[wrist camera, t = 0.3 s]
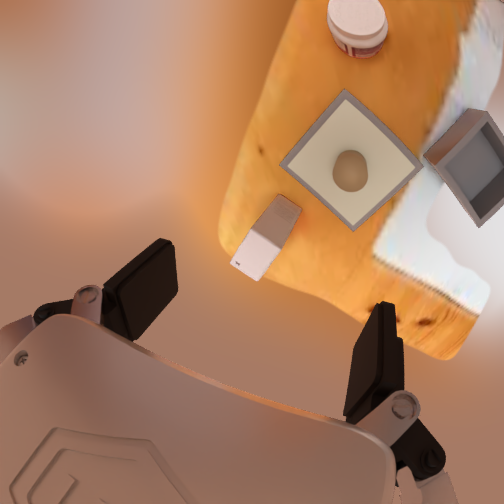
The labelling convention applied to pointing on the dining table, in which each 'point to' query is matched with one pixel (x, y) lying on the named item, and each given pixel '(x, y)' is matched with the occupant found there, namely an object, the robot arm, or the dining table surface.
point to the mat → (379, 125)
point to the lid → (351, 163)
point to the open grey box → (472, 164)
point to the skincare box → (266, 238)
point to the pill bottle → (357, 26)
